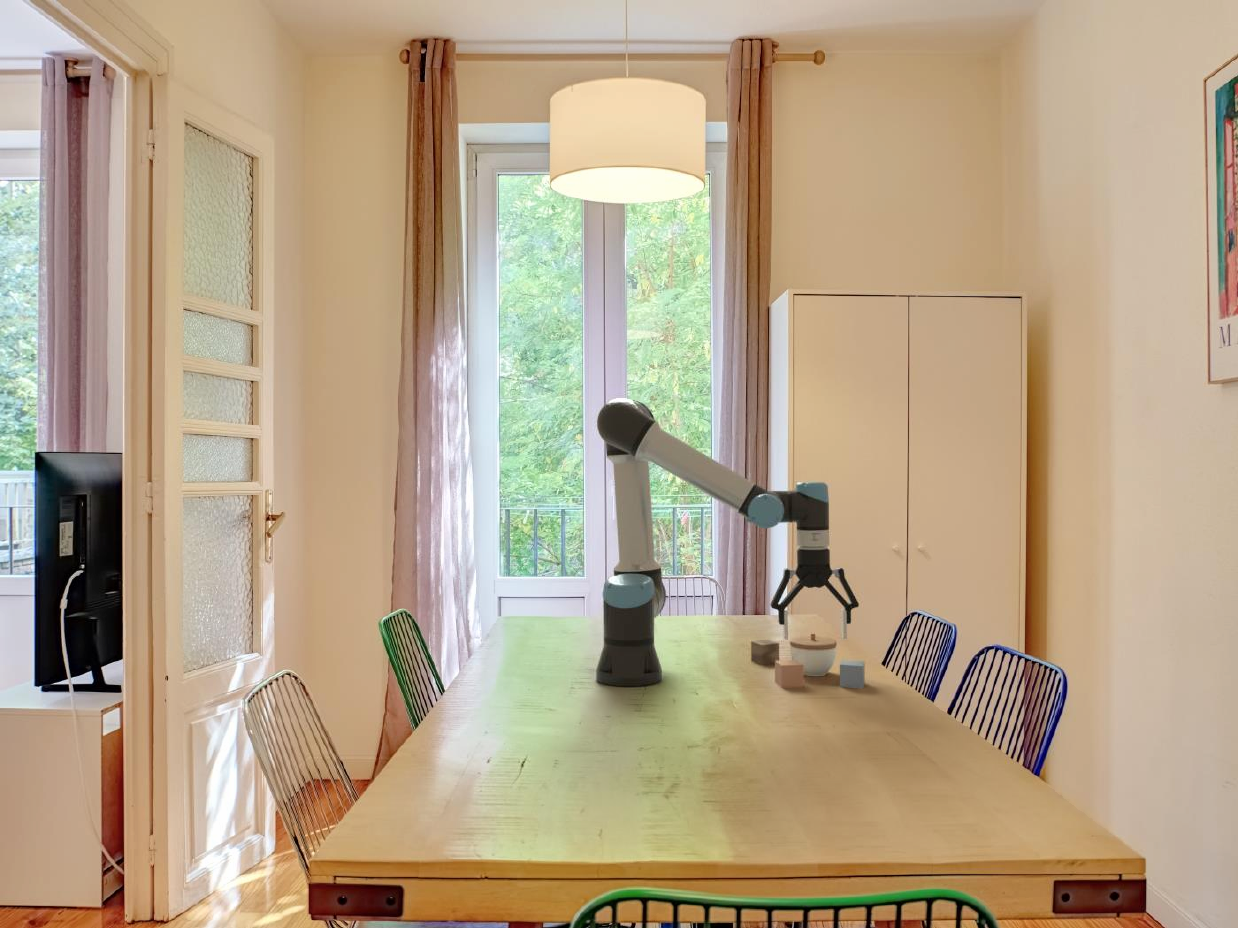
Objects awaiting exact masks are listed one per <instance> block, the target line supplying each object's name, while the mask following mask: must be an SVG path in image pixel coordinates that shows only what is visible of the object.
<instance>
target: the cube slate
mask: <svg viewBox="0 0 1238 928" xmlns="http://www.w3.org/2000/svg"><path fill="white" fill-rule="evenodd" d="M865 663H866V661H864V660H861V661H860V660H848V659H847V660H846V659H842V660H841V661H840V663H839V687H840V688H851V689H864V686H865V684H866V681H865V679H866V678H865V673H866V672H865Z"/></svg>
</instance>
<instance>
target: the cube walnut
mask: <svg viewBox="0 0 1238 928" xmlns="http://www.w3.org/2000/svg"><path fill="white" fill-rule="evenodd" d="M750 646H751V647H750V651H751V653H750V654H751V655H750V657H751V659H750V660H751V662H753V663H756V664H759V666H760V665H761V666H763V665H775V661H780V642H777V641H774V640H771V639H763V640H751V641H750Z"/></svg>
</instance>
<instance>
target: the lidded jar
mask: <svg viewBox="0 0 1238 928" xmlns="http://www.w3.org/2000/svg"><path fill="white" fill-rule="evenodd" d="M789 645H790V657H791V660H797V661H799V662H800V663H802V664H803V676H805V677H824V676H826V675H827V673H828V672H830V670H831V669H832V668H833V666H834V665H835V661H836V657H837V656H836V655H837V645H838V643H837V640H836V639H833V638H830V637H825V636H824V637H823V636H816V633H814V632H813V633H810V636H809V635H808V636H806V635H804V636H803V635H802V636H796V637H792V638H791V639H790V640H789Z"/></svg>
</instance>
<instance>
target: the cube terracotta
mask: <svg viewBox="0 0 1238 928" xmlns="http://www.w3.org/2000/svg"><path fill="white" fill-rule="evenodd" d="M774 683H775V684H776V685H778V686H779V687H780V688H786V689H787V688H804V675H803V664H802V663H800V662H799V661H797V660H792V659H786V660H779V661H775V664H774Z"/></svg>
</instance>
